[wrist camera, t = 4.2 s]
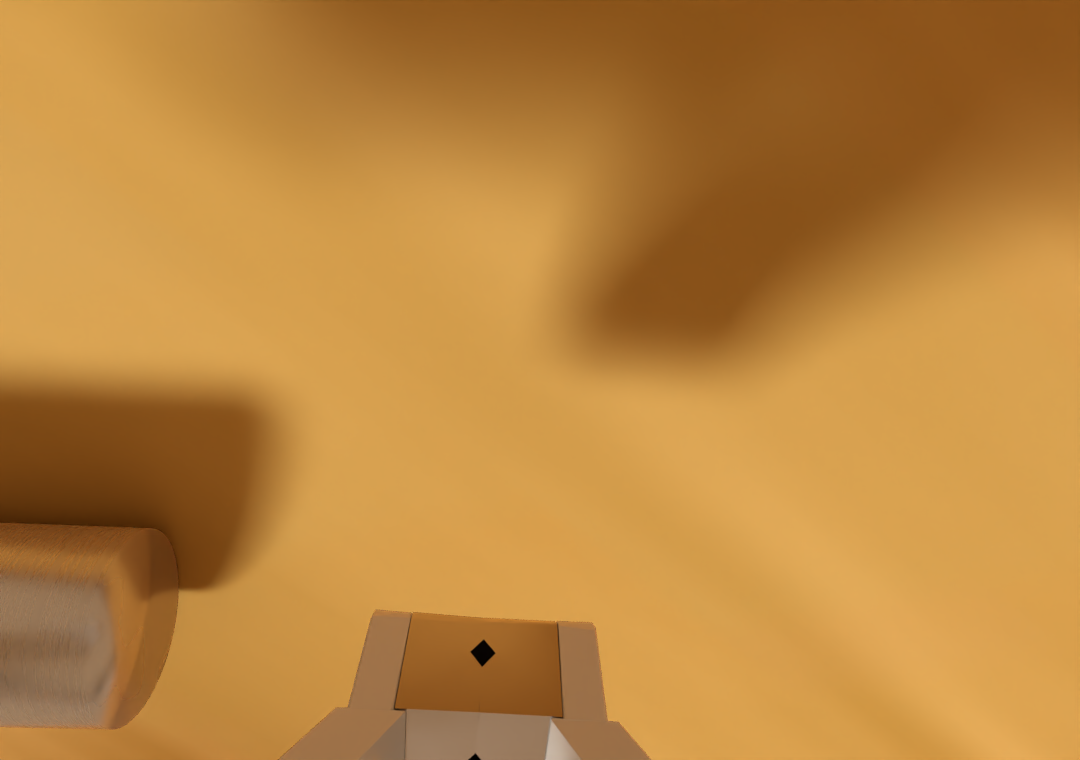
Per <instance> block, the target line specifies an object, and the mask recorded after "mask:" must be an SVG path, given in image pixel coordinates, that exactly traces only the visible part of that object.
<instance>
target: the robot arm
mask: <svg viewBox="0 0 1080 760" xmlns="http://www.w3.org/2000/svg"><path fill="white" fill-rule="evenodd" d="M278 760H651V759H650V758H649V756H648V755H647V754H646V753H645V752H644V751H643V749H642V748H641V747H640V746H639V745H638V744H637V742H636V741H635V740H634V739H633V738H632V737H631V735H630V734H629V733H628V732H627V731H626V730H625V729H624V727H623V726H622V725H621V724H620V723H619V722H613V721H608V720H607V712H606V704H605V696H604V689H603V681H602V673H601V665H600V658H599V650H598V642H597V634H596V628H595V626H594V625H593V623H590V622H568V621H557V622H555V621H539V620H519V619H500V618H478V617H467V616H455V615H443V614H431V613H419V612H413V613H408V612H397V611H386V610H375V612H374V614H373V615H372V617H371V620H370V623H369V627H368V631H367V635H366V639H365V643H364V647H363V650H362V654H361V658H360V662H359V666H358V670H357V673H356V677H355V681H354V685H353V689H352V693H351V697H350V700H349V704H348V708H339V707H336V708H335V709H334V710H333V711H331V712H330V713H329V714H328V715H327V716H326V717H325V718H324V719H323V720H321V721H320V722H319V723H318V724H317V725H316V726H315V727H314V728H313V729H311V730H310V731H309V732H308V733H307V734H306V735H305V736H304V737H303V738H301V739H300V740H299V741H298V742H297V743H296V744H295V745H294V746H293V747H291V748H290V749H289V750H288V751H287V752H286V753H285V754H284V755H283V756H282V757H280V758H279V759H278Z"/></svg>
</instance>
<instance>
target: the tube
mask: <svg viewBox="0 0 1080 760" xmlns="http://www.w3.org/2000/svg"><path fill="white" fill-rule="evenodd" d="M178 587H179V586H178V570H177V563H176V558H175V554H174V550H173V548H172V545H171V543H170V541H169V540H168V538H167V537H166V536H165V534H164V533H162V532H161V531H160V530H157V529H154V528H132V527H105V526H78V525H51V524H24V523H0V727H27V728H74V729H117V728H120V727H122V726H124V725H126V724H127V723H129V722H130V721H131V720H132V719H133V718H134V717H135V716H136V715H137V714H138V713H139V712H140V710H141V709H142V708H143V707H144V705H145V704H146V702H147V700H148V699H149V697H150V696H151V694H152V692H153V690H154V688H155V686H156V684H157V682H158V680H159V677H160V675H161V672H162V670H163V667H164V665H165V662H166V659H167V656H168V652H169V649H170V645H171V641H172V637H173V633H174V627H175V622H176V615H177V606H178Z"/></svg>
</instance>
